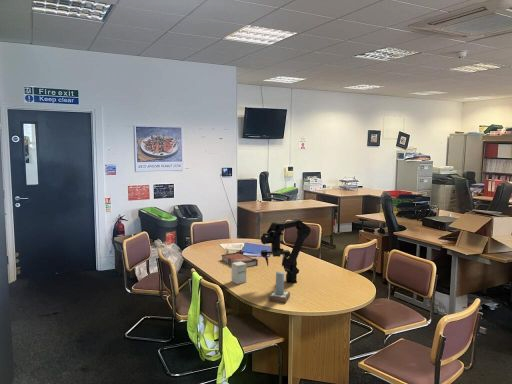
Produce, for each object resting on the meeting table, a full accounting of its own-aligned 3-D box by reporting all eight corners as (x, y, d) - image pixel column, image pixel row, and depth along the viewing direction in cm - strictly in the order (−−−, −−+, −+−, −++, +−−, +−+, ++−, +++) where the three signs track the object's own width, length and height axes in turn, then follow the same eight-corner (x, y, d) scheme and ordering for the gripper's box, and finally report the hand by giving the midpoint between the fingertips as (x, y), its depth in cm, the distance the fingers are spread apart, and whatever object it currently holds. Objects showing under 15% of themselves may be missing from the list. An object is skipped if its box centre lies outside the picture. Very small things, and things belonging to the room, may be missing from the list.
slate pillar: (279, 291, 237) (280, 271, 236) (285, 293, 234) (285, 273, 232) (273, 293, 234) (274, 272, 233) (279, 295, 230) (280, 274, 229)
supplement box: (237, 284, 258) (237, 265, 256) (231, 281, 264) (231, 262, 262) (246, 282, 262) (246, 263, 261) (240, 279, 268) (240, 261, 267)
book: (220, 260, 312) (220, 254, 311) (239, 257, 321) (239, 251, 321) (237, 269, 290) (237, 262, 289) (257, 265, 300) (257, 259, 299)
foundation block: (273, 294, 240) (273, 289, 240) (289, 296, 237) (289, 291, 237) (269, 300, 231) (269, 295, 231) (285, 303, 228) (286, 297, 228)
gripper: (262, 245, 244) (261, 269, 245) (292, 245, 245) (291, 270, 247) (260, 241, 255) (260, 264, 257) (289, 241, 256) (288, 265, 258)
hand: (275, 266), depth 254 cm, fingers open, 9 cm apart
